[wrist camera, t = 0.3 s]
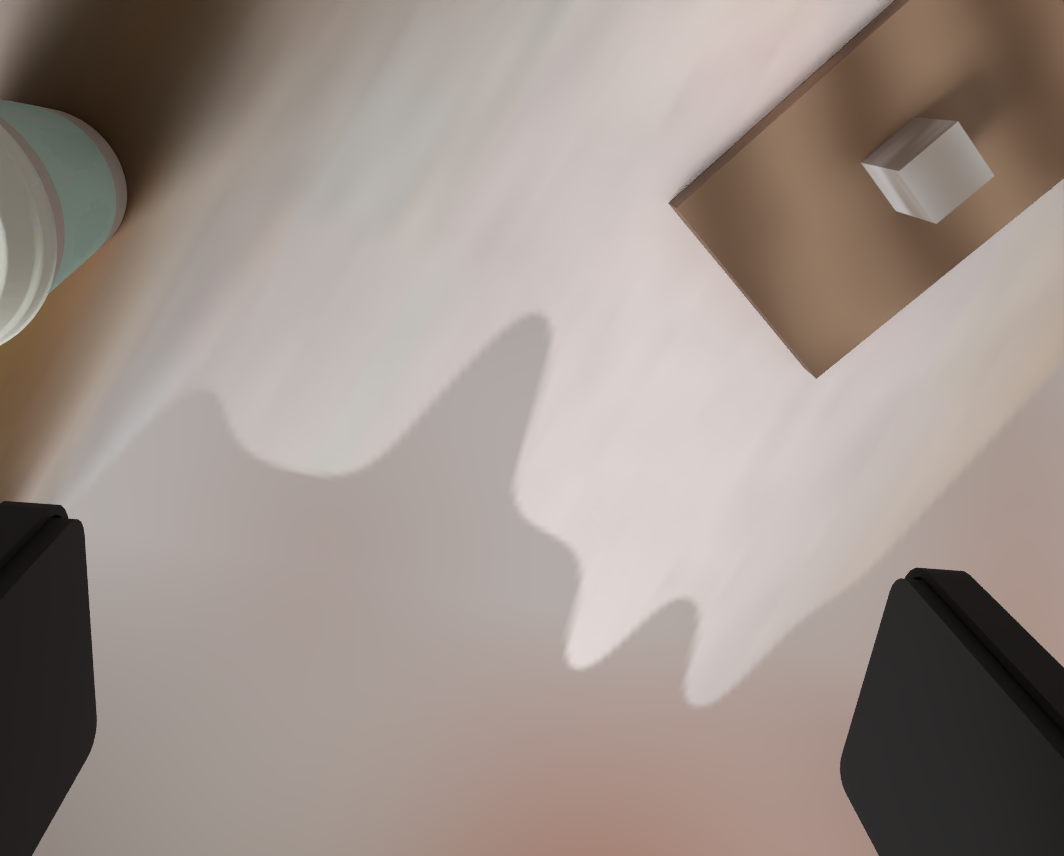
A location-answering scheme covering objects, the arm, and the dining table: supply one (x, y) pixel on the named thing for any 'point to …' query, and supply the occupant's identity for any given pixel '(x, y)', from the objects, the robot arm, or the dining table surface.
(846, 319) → the base
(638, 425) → the dining table surface
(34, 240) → the coffee cup
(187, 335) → the dining table surface
